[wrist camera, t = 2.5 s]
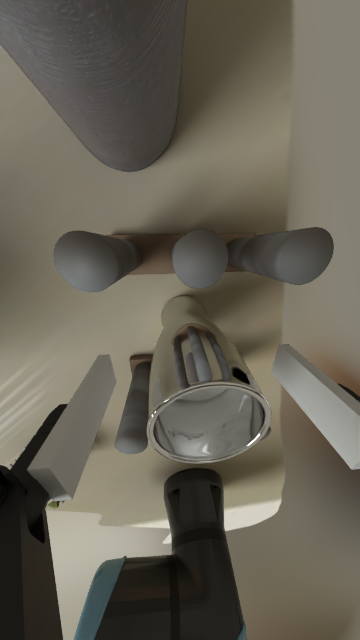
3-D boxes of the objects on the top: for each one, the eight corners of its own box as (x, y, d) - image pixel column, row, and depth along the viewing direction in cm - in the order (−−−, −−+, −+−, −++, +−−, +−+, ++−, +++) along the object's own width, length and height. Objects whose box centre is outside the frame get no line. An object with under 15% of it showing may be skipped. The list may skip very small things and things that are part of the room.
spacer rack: (231, 369, 26) (270, 443, 16) (134, 376, 25) (113, 458, 15) (251, 233, 18) (355, 215, 8) (109, 236, 17) (28, 218, 7)
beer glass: (177, 281, 20) (200, 354, 6) (218, 310, 22) (303, 413, 8) (148, 323, 22) (116, 447, 8) (188, 346, 24) (216, 476, 10)
